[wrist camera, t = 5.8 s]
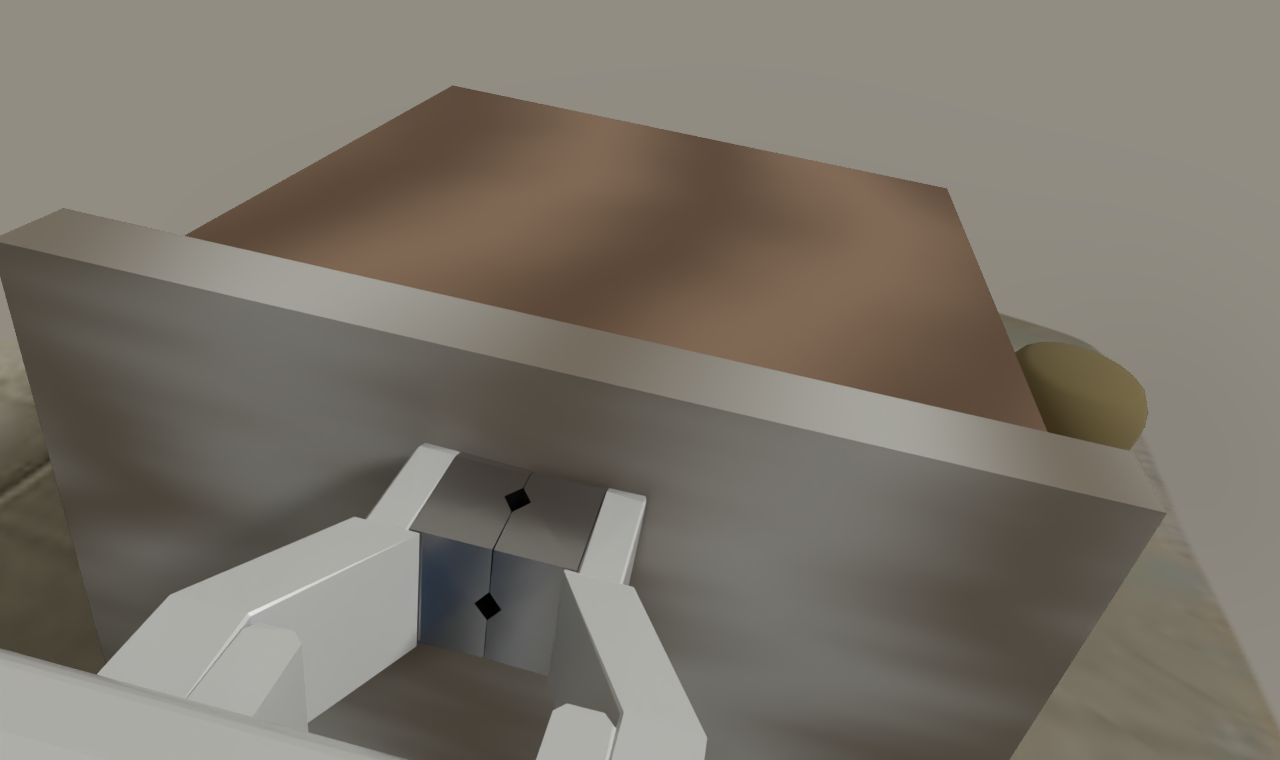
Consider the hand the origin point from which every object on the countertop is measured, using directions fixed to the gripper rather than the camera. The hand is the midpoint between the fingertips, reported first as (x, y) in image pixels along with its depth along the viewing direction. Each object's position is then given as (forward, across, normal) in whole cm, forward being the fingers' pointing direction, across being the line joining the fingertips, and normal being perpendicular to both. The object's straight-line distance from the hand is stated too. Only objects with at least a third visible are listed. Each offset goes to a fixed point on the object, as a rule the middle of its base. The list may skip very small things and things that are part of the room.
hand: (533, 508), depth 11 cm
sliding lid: (+8, 0, +6) cm, 10 cm away
